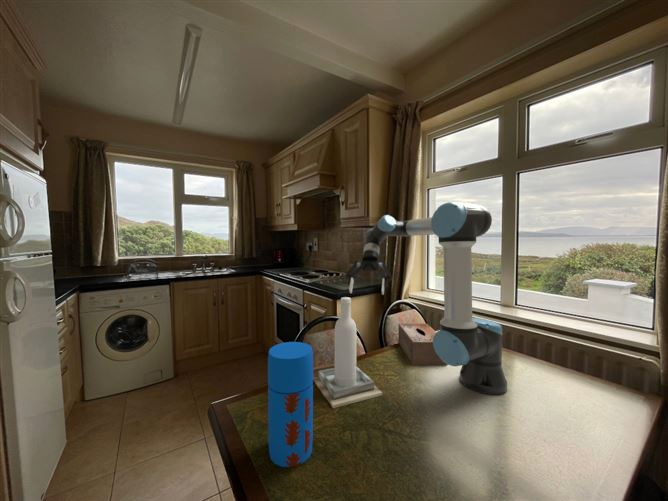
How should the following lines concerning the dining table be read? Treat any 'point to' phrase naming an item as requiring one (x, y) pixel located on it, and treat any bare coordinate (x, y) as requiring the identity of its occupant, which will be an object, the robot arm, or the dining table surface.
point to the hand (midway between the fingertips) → (366, 292)
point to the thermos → (290, 403)
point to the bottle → (345, 346)
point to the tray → (344, 395)
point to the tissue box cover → (419, 344)
